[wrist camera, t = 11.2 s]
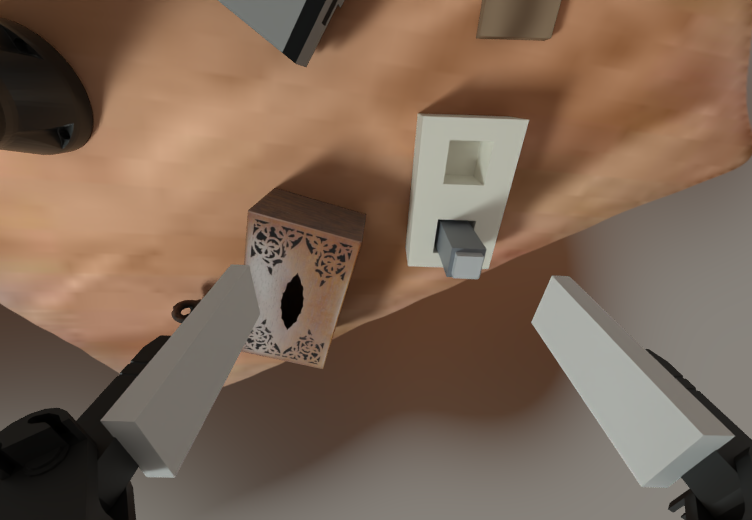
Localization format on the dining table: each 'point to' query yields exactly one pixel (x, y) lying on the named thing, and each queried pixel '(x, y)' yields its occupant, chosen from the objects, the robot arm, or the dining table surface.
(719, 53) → the dining table surface
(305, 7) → the office tray
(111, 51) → the dining table surface
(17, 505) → the robot arm
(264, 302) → the tissue box cover
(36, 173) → the dining table surface
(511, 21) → the plate
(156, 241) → the dining table surface
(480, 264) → the plug
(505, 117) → the socket block
